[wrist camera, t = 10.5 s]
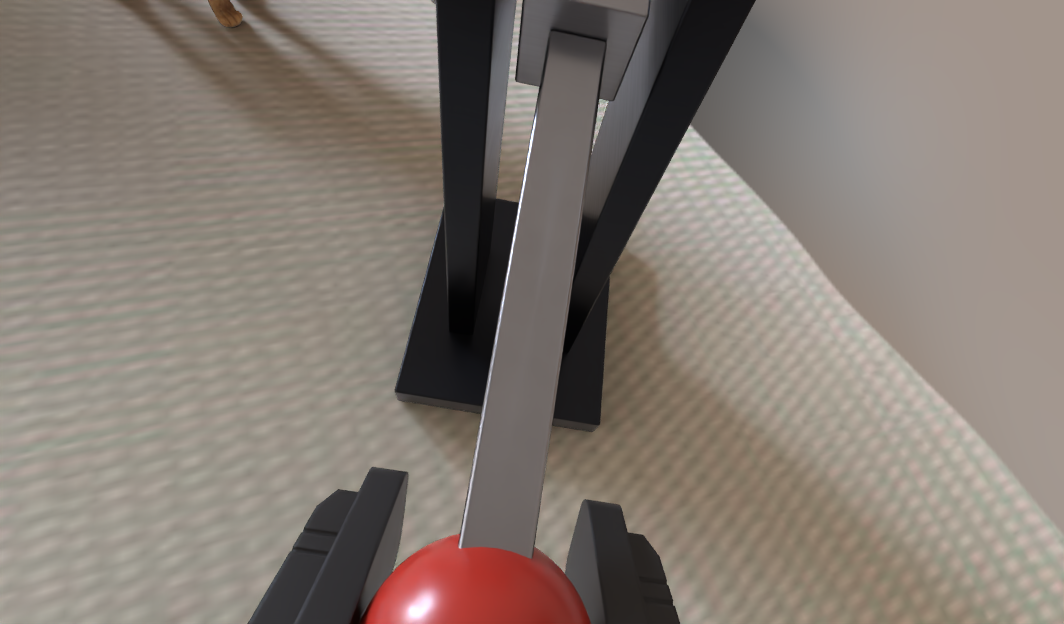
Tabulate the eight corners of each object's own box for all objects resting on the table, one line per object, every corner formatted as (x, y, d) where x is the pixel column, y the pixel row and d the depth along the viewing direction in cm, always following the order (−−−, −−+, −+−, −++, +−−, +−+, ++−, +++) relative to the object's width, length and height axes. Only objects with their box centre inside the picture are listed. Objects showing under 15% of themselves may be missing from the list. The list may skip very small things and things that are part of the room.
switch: (560, 746, 9) (611, 964, 5) (352, 720, 9) (262, 929, 5) (648, 24, 12) (716, -137, 9) (503, -8, 12) (511, -185, 8)
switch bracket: (593, 432, 20) (891, 148, 6) (397, 400, 20) (252, 17, 6) (607, 234, 25) (798, -184, 11) (448, 204, 24) (436, -274, 10)
